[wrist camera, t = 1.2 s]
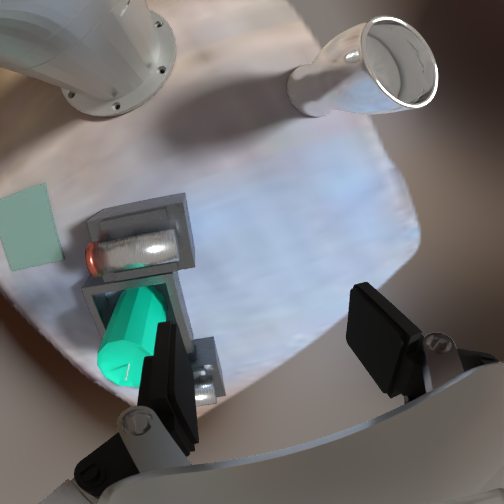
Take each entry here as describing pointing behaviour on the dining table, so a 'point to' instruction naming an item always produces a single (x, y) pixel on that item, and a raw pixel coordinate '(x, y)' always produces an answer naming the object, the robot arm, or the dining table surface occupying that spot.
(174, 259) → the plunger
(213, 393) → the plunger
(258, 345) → the dining table surface
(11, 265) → the pad
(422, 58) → the beer glass
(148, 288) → the candle
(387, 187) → the dining table surface
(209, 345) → the housing
